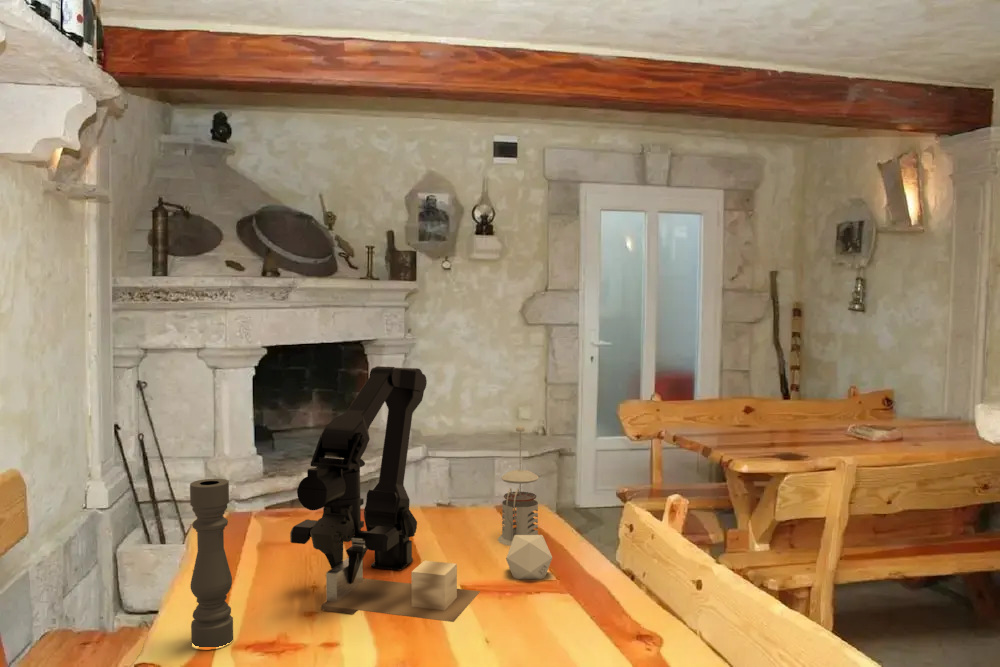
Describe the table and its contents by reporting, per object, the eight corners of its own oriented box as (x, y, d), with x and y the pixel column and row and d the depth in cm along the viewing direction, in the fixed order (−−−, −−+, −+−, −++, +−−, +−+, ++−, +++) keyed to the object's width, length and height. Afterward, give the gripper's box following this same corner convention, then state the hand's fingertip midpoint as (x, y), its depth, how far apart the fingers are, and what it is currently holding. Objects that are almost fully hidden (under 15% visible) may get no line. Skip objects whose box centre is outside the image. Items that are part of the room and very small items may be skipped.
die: (537, 595, 151) (564, 546, 153) (494, 568, 152) (523, 520, 155) (534, 594, 159) (560, 548, 162) (494, 569, 160) (521, 524, 163)
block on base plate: (320, 609, 142) (320, 576, 141) (357, 581, 155) (357, 551, 155) (453, 626, 135) (453, 591, 134) (480, 595, 148) (480, 563, 148)
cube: (411, 606, 141) (411, 571, 141) (424, 593, 147) (424, 560, 147) (444, 610, 139) (444, 575, 139) (456, 597, 145) (456, 563, 145)
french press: (547, 535, 184) (548, 423, 183) (532, 551, 173) (532, 432, 172) (505, 531, 187) (505, 421, 186) (488, 546, 176) (488, 429, 175)
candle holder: (197, 634, 132) (194, 478, 131) (237, 632, 133) (234, 477, 131) (186, 651, 126) (182, 488, 124) (228, 649, 126) (225, 487, 125)
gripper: (272, 503, 142) (274, 593, 143) (372, 511, 137) (373, 604, 138) (305, 488, 153) (306, 571, 154) (399, 495, 147) (400, 581, 148)
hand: (345, 582), depth 148 cm, fingers closed on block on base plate, 2 cm apart
